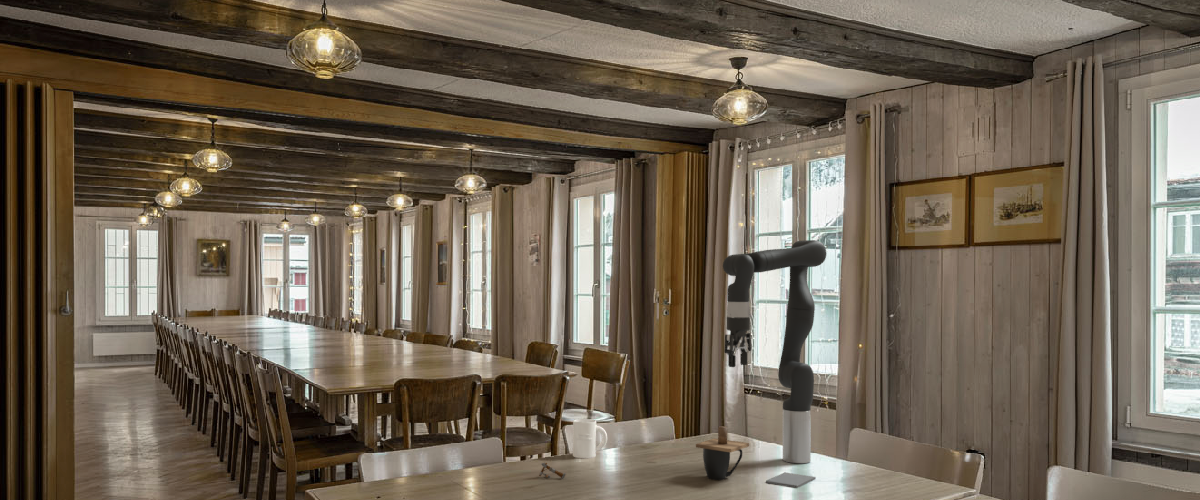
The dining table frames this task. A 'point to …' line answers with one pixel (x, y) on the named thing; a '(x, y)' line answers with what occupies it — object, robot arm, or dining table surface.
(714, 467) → the mug
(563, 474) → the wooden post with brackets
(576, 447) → the mug
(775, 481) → the mat
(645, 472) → the dining table surface
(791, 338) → the robot arm
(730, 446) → the lid
